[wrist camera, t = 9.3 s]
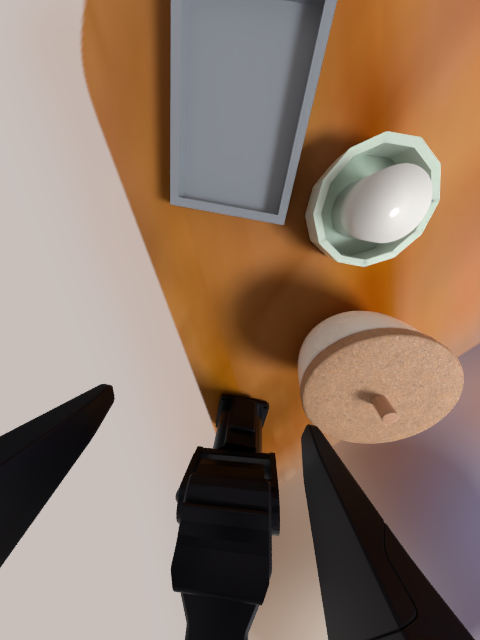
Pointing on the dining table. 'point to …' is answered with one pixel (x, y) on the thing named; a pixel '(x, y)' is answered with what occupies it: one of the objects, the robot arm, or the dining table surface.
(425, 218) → the bowl
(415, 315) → the dining table surface
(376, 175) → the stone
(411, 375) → the lidded jar
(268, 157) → the parts tray
